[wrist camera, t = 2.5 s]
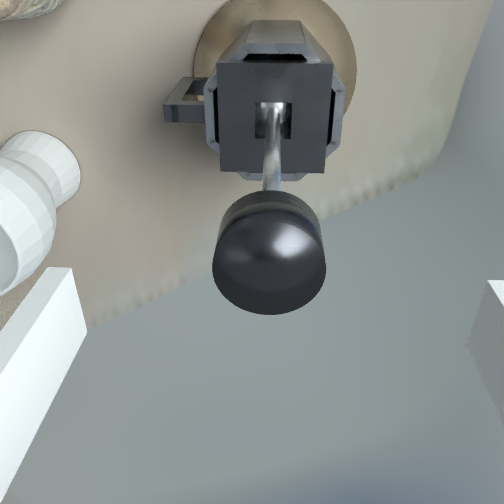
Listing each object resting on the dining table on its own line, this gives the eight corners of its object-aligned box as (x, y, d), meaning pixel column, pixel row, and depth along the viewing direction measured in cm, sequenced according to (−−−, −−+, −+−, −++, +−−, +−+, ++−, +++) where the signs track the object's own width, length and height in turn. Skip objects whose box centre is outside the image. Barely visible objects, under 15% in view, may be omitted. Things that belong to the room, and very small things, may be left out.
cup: (26, 91, 43) (-78, 152, 30) (116, 173, 47) (57, 256, 34) (-33, 163, 47) (-146, 242, 35) (55, 232, 51) (-18, 326, 39)
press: (183, -15, 38) (146, 0, 27) (365, -15, 37) (399, 0, 27) (194, 152, 45) (170, 213, 35) (346, 154, 45) (366, 217, 34)
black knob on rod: (226, 62, 31) (169, 186, 15) (323, 63, 31) (373, 190, 15) (228, 154, 34) (185, 335, 18) (316, 156, 34) (350, 341, 18)
